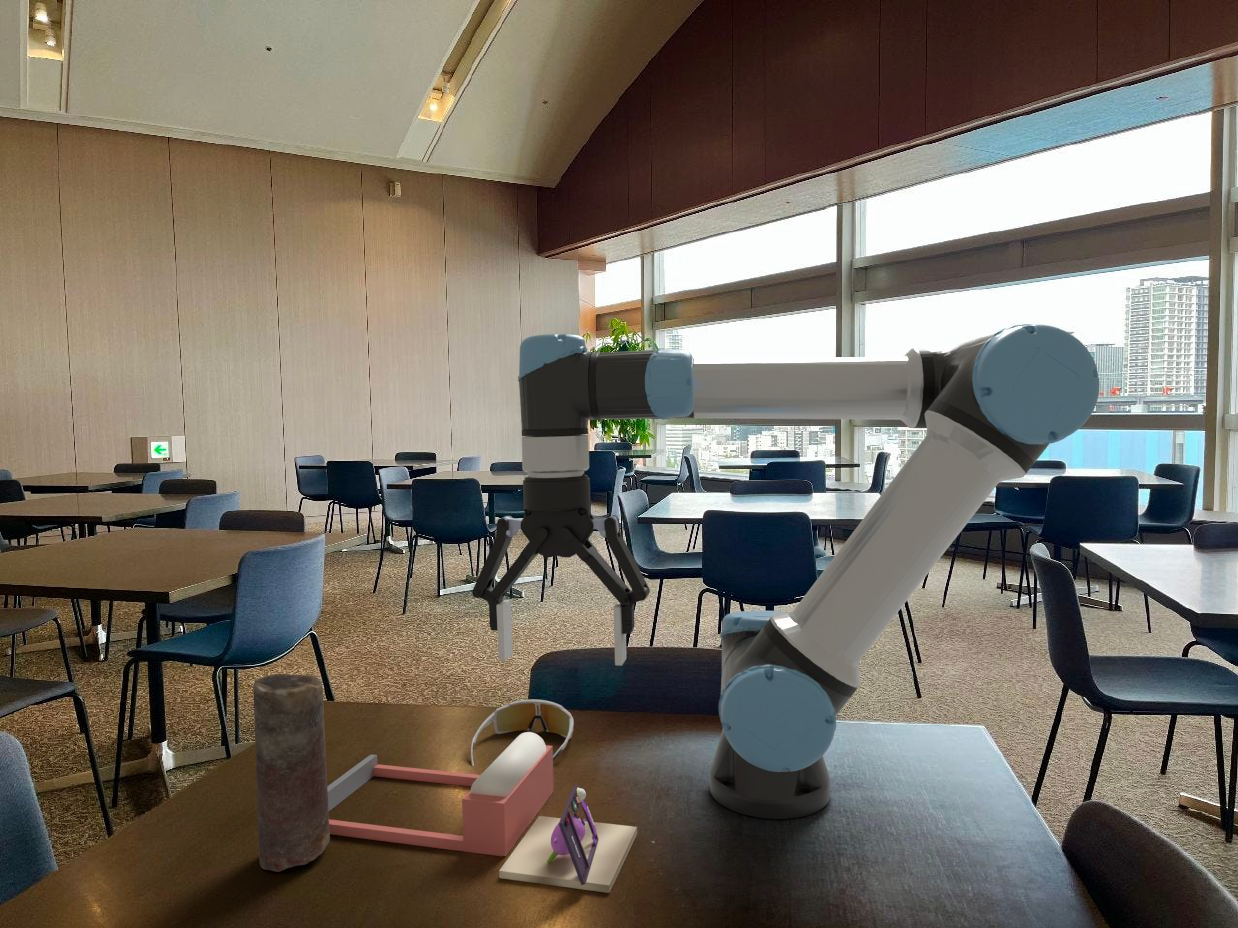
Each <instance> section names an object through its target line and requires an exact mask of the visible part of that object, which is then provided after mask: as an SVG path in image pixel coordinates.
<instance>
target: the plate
mask: <svg viewBox="0 0 1238 928" xmlns="http://www.w3.org/2000/svg"><path fill="white" fill-rule="evenodd" d="M560 819H561V817H555V816H554V817H552V816H543V815H538V817H537V818H536V820H535V821H534V823H532V825H531V826H530V828H529V829H528V830H527V832H526V833H525V835H524V836H523V837H522V839H521V840H520V842H519V843H518V844H517V846H516V847H515V848H514V850H513V851H512V853H511V854H510V856H508V858H507V859H506V860H505V862H504V864H503V865H502V866H501V868H500V869H499V870H498V871H499V872H498V873H499V874H498V875H499V879H504V880H511V881H518V882H519V881H520V882H526V883H533V884H541V885H548V886H553V887H556V886H557V887H563V888H570V889H578V890H583V891H584V890H585V891H593V892H599V893H605V894H610V893H611V890H612V889H613V886H614V884H615V882H616V880H617V878H618V876H619V874H620V872H621V870H622V867H623V865H624V864H625V863H624V862H625V861H626V859H627V856H628V854H629V852H630V850H631V847H632V846H633V844H634V841H635V839H636V837H637V835H638V826H631V825H623V824H615V823H614V824H613V823H605V822H595V821H593V822H594V824H595V828H596V833H597V836H598V839H599V840H598V844H597V847H596V850H595V854H594V857H593V860H592V864H591V867H590V870H589V874H588V877H587V880H586V884H584V885H581V883H580V880H579V878H578V875H577V872H576V870H575V867H574V864H573V862H572V859H571V856H570V854H568V855H557V856H556V857H555V858H554V859H553V861H552V862H551V863H550V864H549V863H548V862H547V860H548V859H549V856H551V854H552V853H553V848H552V846H551V836H552V833H553V831H554V829H555V827H556V825H557V824H558V823H559V822H560ZM584 822H585V828H587V829H586V830H585V831H586V833H585V836H584V838H583V839H582V841H581V844H582V847H583V850H584V852H585V855H586V858H587V860H588V856H589V853H590V850H591V847H592V844H593V839H592V836H593V835H592V832H591V830H590V827H589V824H588V821H587V820H585V821H584Z"/></svg>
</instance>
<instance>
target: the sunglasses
mask: <svg viewBox="0 0 1238 928" xmlns="http://www.w3.org/2000/svg"><path fill="white" fill-rule="evenodd" d="M538 719H539V720H540V722H541V726H542V729H543V730H544V732H547V733H554V734H558V735H560V736H561V737H563V738H565V740H564V741H563V743H562V744H561V746H559V748H558V749H557V750H556V752H555V753H553V762H554V761H555V760H556V759H557V758H558V756H559V755H560V754H561V753H562V751H563V750H565V748H567V745H568V742H569V740H570V739H572V737H573V732H574V725H575V721H574V718H573V716H572V714H571V712H569V710H567V709H566V708H565V707H564V706H563V705H561V704H559V703H556V702H553V701H549V700H545V699H534V698H533V699H519V700H515V701H511V702H509V703H508V704H505V705H503V706H500V707H497V708H496V710H494V711H493V712H492V713H491V714H490V715H489V716H488V717H487V718H486V719H485V720H484V721H483V722H482V724H481V725H480V726H479V728H478V729H477V731H476V732H475V734H474V736H473V737H472V741H471V743H470V744H471V745H470V761H471V762H470V763H471V767H475V762H474V747H475V743H476V741H477V738H478V737H479V735H480V733H481V732H482V730H484V729H485V728H486V727H488V726H489V725H490V724H492V722H493V726H494V730H495V733H496V734H497V735H500V734H507V733H511V732H512V733H513V732H517V731H531V730H532V729H533V726H534V723H535V722H536V720H538Z"/></svg>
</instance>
